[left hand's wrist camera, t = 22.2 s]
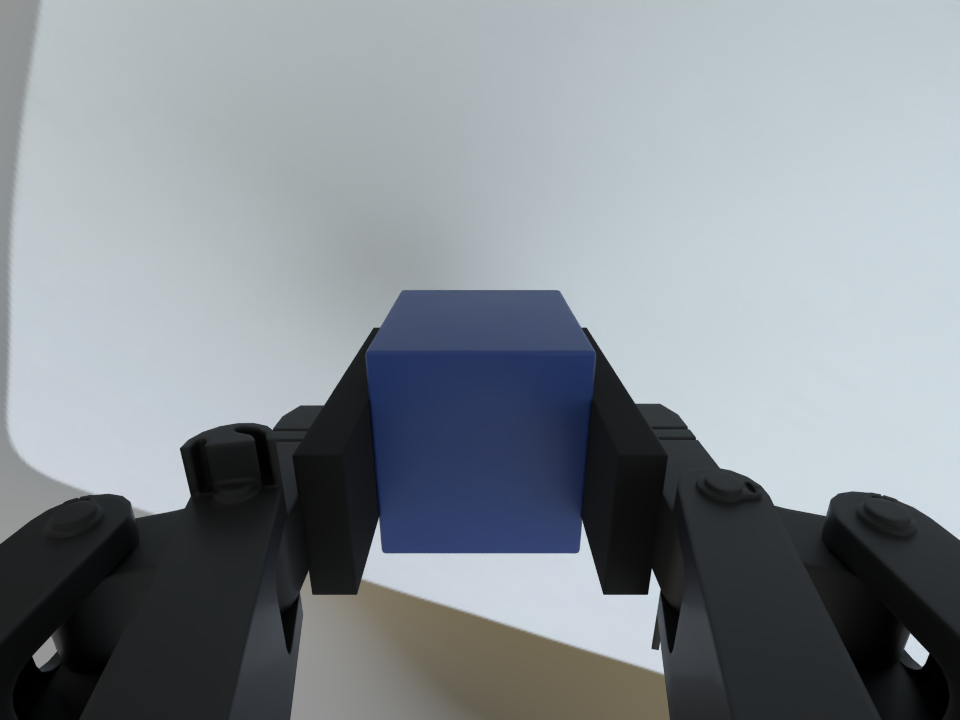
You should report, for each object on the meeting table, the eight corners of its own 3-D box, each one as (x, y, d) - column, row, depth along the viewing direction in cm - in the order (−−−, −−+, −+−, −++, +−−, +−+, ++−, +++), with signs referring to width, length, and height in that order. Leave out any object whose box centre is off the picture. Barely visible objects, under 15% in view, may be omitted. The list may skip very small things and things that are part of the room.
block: (409, 441, 15) (381, 554, 11) (401, 289, 14) (364, 351, 9) (551, 441, 15) (580, 554, 11) (560, 289, 14) (597, 351, 9)
